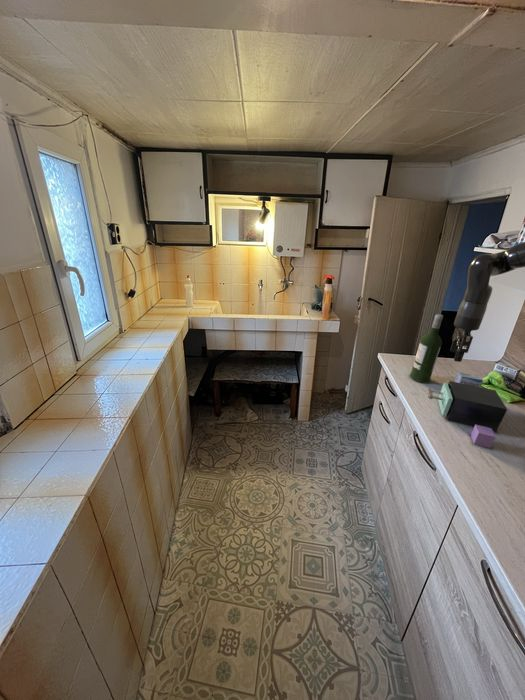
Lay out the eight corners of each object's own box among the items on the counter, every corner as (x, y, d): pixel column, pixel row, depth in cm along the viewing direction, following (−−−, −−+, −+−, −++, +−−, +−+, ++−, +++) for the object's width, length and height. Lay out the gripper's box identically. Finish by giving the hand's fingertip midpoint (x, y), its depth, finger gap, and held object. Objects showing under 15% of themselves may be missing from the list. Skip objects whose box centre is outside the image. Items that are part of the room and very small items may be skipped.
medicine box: (454, 394, 116) (461, 376, 112) (451, 389, 120) (457, 371, 116) (476, 398, 114) (484, 380, 110) (472, 393, 118) (479, 375, 114)
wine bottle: (407, 373, 131) (425, 311, 118) (424, 374, 131) (444, 312, 118) (414, 382, 124) (434, 317, 111) (432, 383, 124) (454, 318, 111)
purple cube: (486, 439, 92) (491, 428, 90) (490, 448, 88) (496, 437, 86) (470, 435, 94) (475, 424, 92) (473, 443, 90) (478, 432, 88)
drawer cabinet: (447, 420, 100) (455, 398, 96) (441, 401, 111) (449, 380, 107) (496, 432, 95) (507, 409, 91) (485, 411, 106) (495, 390, 102)
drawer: (425, 412, 103) (432, 394, 100) (422, 396, 112) (428, 379, 109) (486, 426, 96) (495, 408, 93) (478, 408, 106) (485, 391, 103)
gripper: (489, 322, 90) (471, 366, 97) (477, 310, 102) (462, 351, 108) (461, 318, 92) (446, 362, 99) (454, 307, 104) (440, 347, 111)
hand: (455, 356), depth 104 cm, fingers open, 8 cm apart
